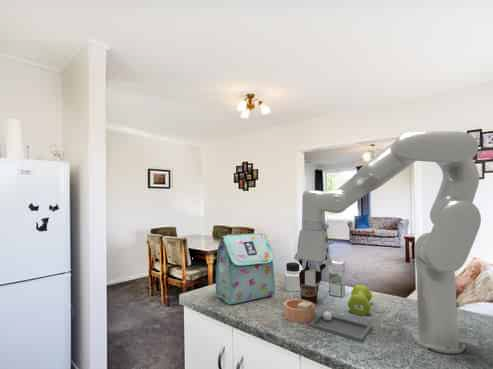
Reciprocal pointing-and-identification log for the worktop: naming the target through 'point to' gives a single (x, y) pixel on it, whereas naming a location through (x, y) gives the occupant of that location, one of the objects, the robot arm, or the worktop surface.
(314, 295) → the coffee cup
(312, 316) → the bowl
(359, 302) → the dumbbell
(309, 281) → the grey sharp-edged block
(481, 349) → the worktop surface
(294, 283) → the medicine bottle
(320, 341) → the worktop surface
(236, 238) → the lunch bag
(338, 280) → the clear bottle
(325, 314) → the pebble
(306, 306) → the cream cube
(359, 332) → the tray
